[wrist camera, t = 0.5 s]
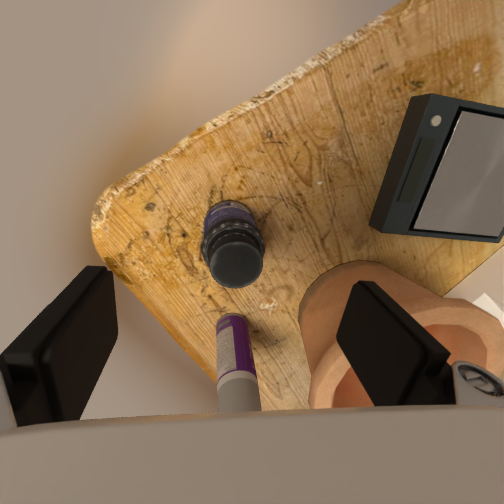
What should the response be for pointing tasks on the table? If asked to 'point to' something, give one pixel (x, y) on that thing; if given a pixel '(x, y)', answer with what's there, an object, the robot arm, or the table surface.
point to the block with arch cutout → (484, 286)
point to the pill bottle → (232, 244)
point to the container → (235, 366)
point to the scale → (421, 164)
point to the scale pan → (466, 179)
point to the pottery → (413, 302)
